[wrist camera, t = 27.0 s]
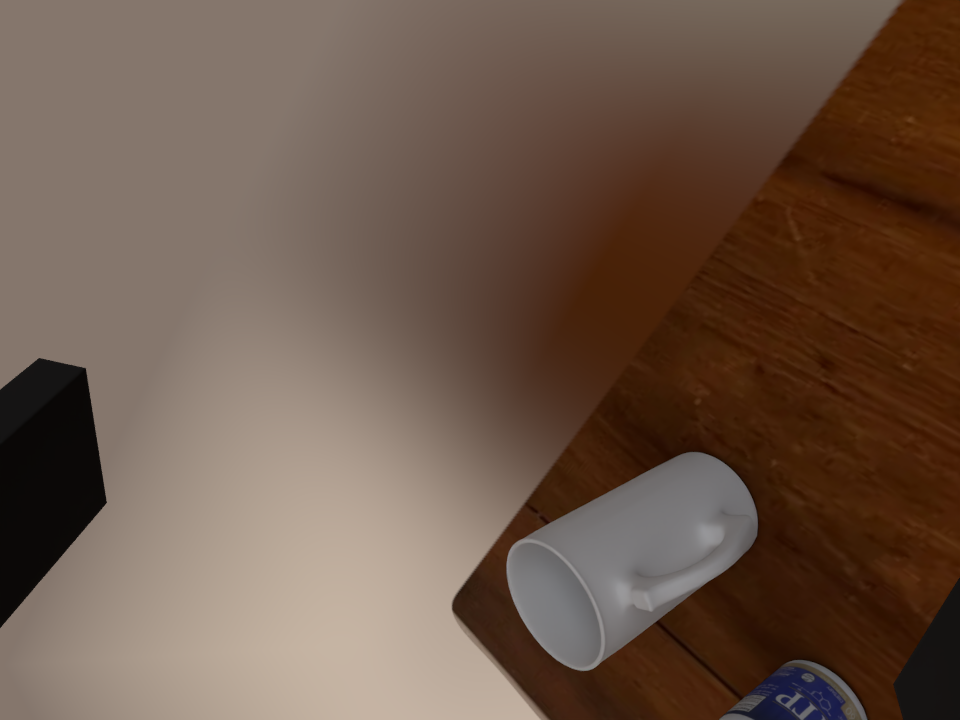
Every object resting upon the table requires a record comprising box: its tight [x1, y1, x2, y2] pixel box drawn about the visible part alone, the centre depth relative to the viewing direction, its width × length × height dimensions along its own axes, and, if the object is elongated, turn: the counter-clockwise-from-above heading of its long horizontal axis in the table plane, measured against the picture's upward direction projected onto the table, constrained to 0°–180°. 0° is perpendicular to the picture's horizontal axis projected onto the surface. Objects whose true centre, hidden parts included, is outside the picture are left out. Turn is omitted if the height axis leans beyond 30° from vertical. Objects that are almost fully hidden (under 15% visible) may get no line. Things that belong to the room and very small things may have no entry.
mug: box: [507, 452, 758, 671], centre depth 41 cm, size 10×7×12 cm, turn 123°
